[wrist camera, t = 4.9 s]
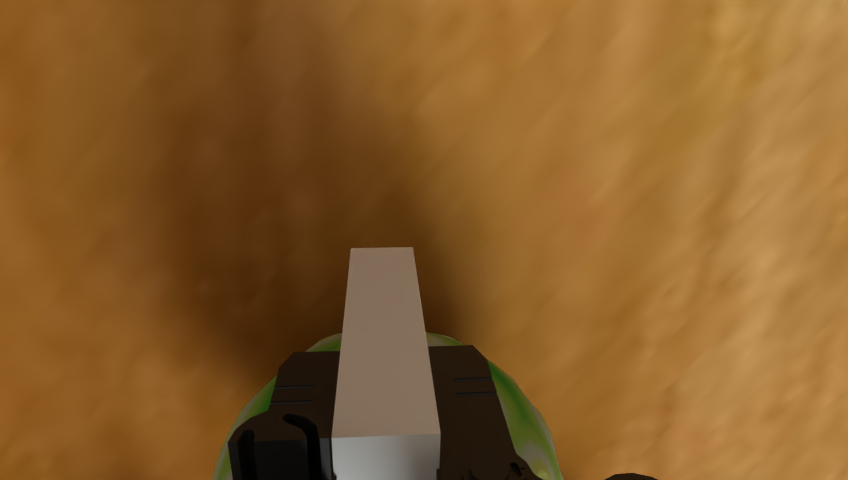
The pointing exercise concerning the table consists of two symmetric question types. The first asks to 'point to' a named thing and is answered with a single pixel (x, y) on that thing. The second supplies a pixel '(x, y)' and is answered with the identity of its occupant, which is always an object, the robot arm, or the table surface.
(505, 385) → the decorative ball
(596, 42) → the table surface
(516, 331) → the table surface
